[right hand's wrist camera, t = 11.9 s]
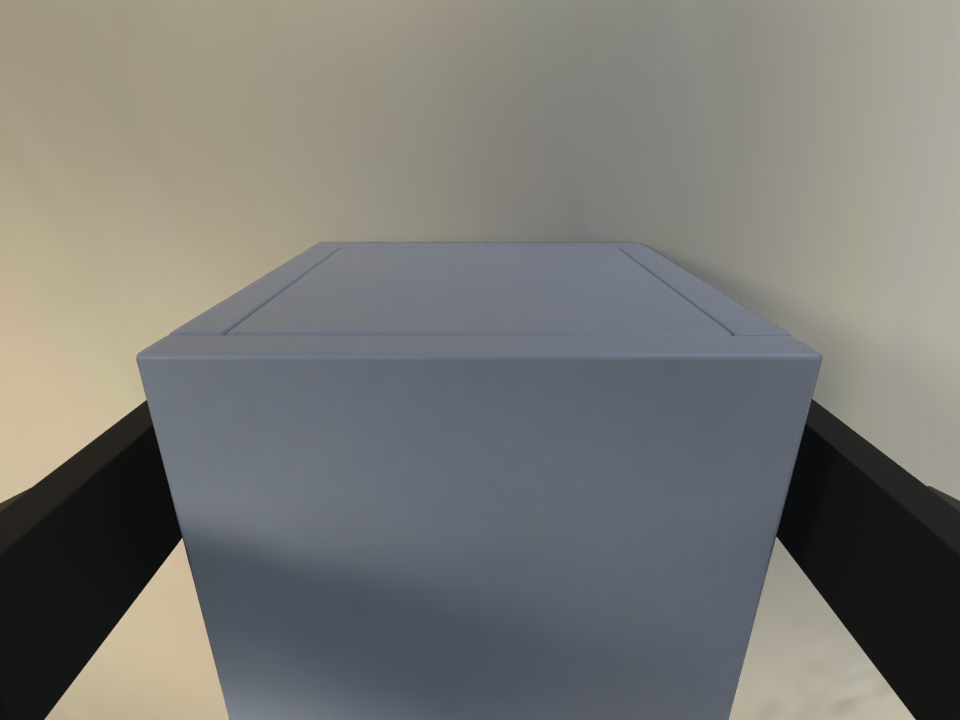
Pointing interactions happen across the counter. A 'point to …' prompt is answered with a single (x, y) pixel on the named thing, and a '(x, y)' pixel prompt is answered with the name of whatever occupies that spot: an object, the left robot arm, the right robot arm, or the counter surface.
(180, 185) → the counter surface
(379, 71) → the counter surface
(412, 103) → the counter surface
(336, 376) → the cabinet
